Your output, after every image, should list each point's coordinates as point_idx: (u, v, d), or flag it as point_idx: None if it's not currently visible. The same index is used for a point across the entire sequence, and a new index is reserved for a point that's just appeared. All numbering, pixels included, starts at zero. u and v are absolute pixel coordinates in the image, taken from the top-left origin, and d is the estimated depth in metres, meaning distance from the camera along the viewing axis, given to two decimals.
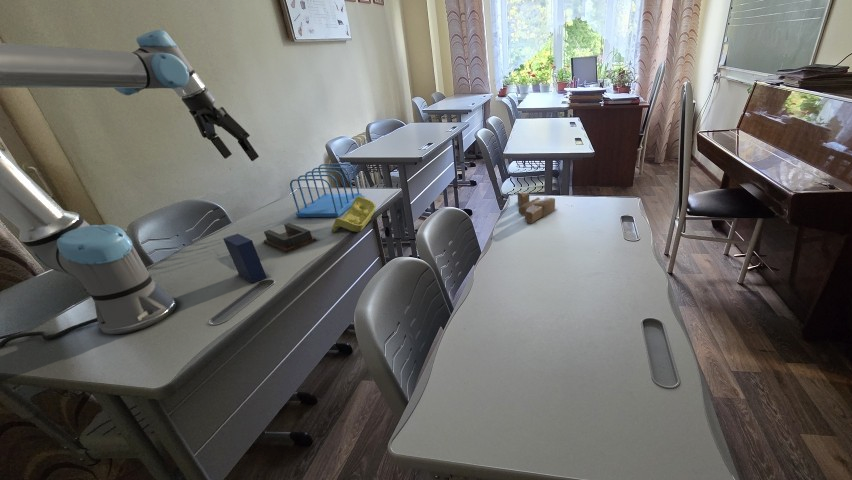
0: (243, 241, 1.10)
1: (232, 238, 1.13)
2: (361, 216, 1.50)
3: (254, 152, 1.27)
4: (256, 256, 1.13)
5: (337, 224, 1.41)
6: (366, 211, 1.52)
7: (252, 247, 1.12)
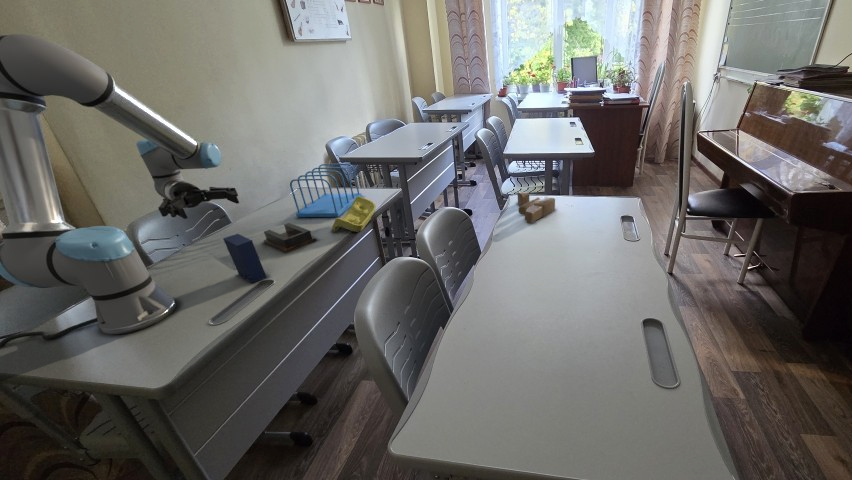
0: (243, 241, 1.10)
1: (232, 238, 1.13)
2: (361, 216, 1.50)
3: None
4: (256, 256, 1.13)
5: (337, 224, 1.41)
6: (366, 211, 1.52)
7: (252, 247, 1.12)
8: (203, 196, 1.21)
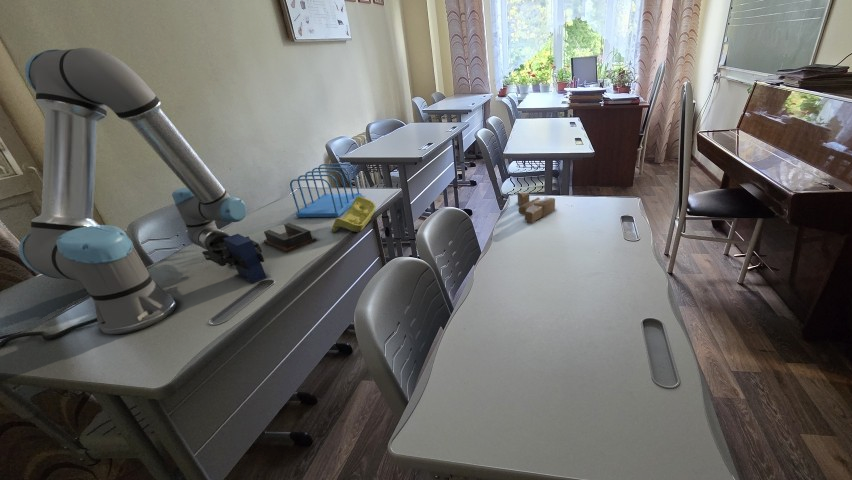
0: (243, 241, 1.10)
1: (232, 238, 1.13)
2: (361, 216, 1.50)
3: None
4: (256, 256, 1.13)
5: (337, 224, 1.41)
6: (366, 211, 1.52)
7: (252, 247, 1.12)
8: None
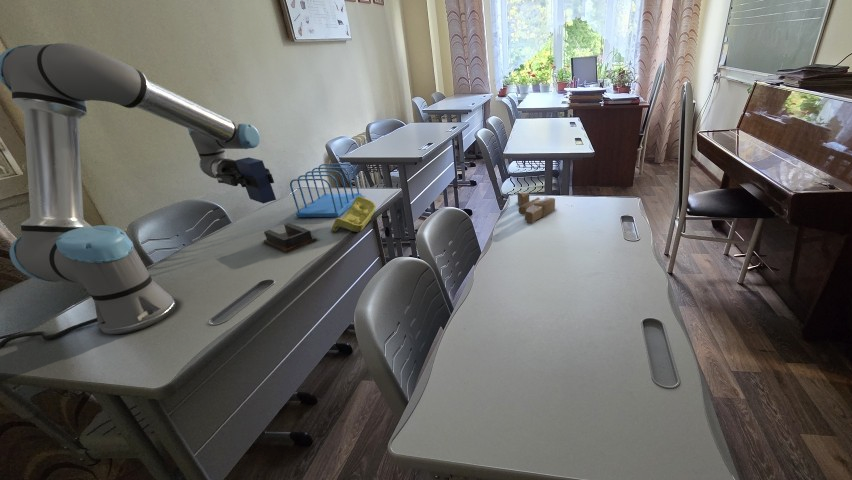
0: (254, 161, 1.17)
1: (244, 160, 1.19)
2: (361, 216, 1.50)
3: None
4: (266, 177, 1.19)
5: (337, 224, 1.41)
6: (366, 211, 1.52)
7: (263, 167, 1.18)
8: None
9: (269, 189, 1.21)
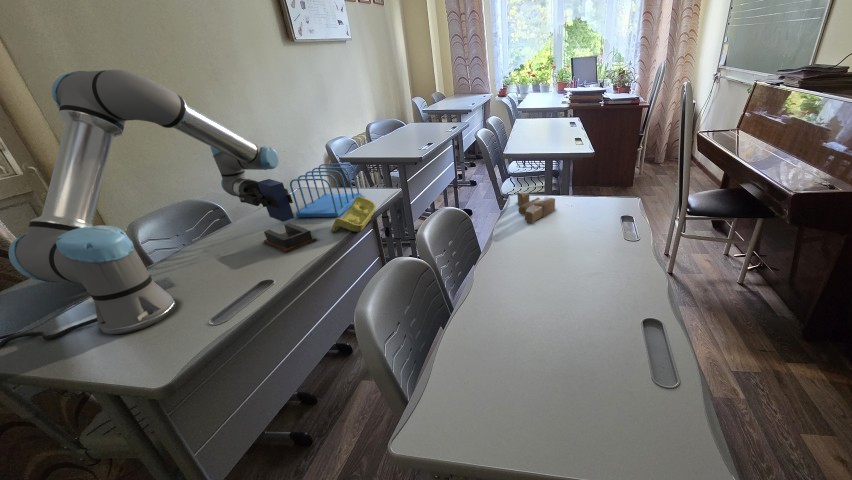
0: (275, 183, 1.27)
1: (265, 181, 1.29)
2: (361, 216, 1.50)
3: None
4: (286, 197, 1.29)
5: (337, 224, 1.41)
6: (366, 211, 1.52)
7: (283, 189, 1.28)
8: None
9: (288, 208, 1.31)
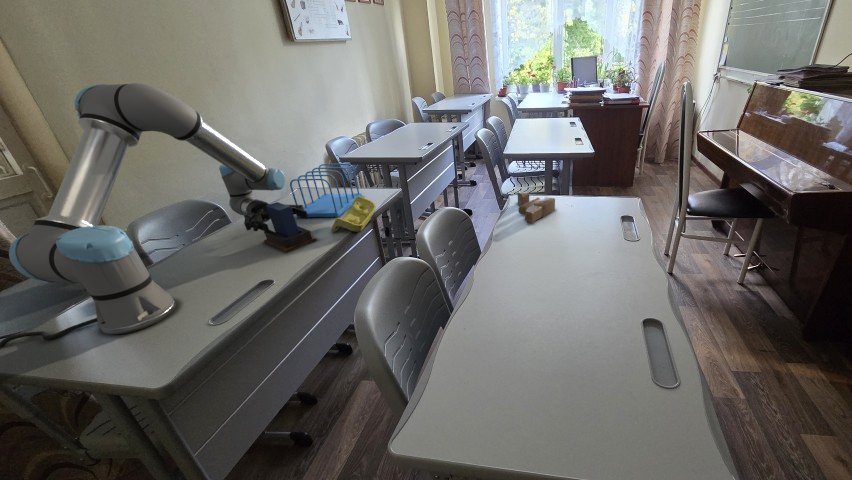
0: (283, 207, 1.31)
1: (273, 205, 1.33)
2: (361, 216, 1.50)
3: None
4: (294, 220, 1.34)
5: (337, 224, 1.41)
6: (366, 211, 1.52)
7: (291, 212, 1.32)
8: None
9: (296, 231, 1.35)
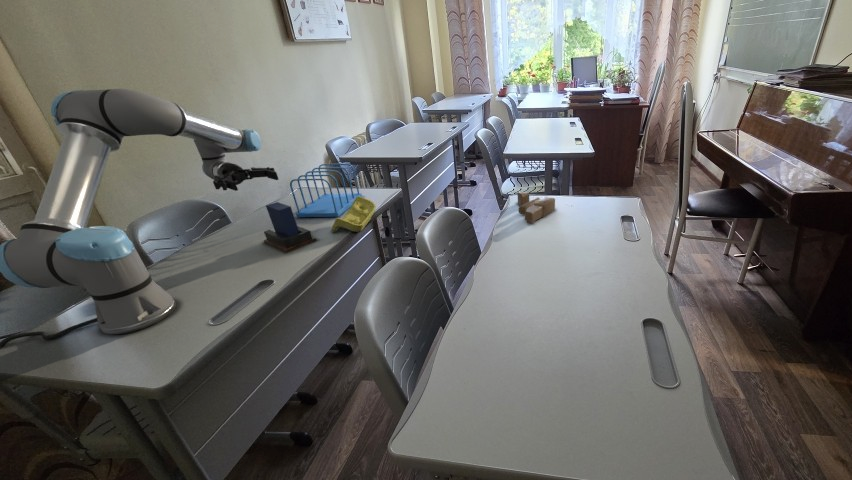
0: (283, 207, 1.31)
1: (273, 205, 1.33)
2: (361, 216, 1.50)
3: None
4: (294, 220, 1.34)
5: (337, 224, 1.41)
6: (366, 211, 1.52)
7: (291, 212, 1.32)
8: (247, 174, 1.43)
9: (296, 231, 1.35)
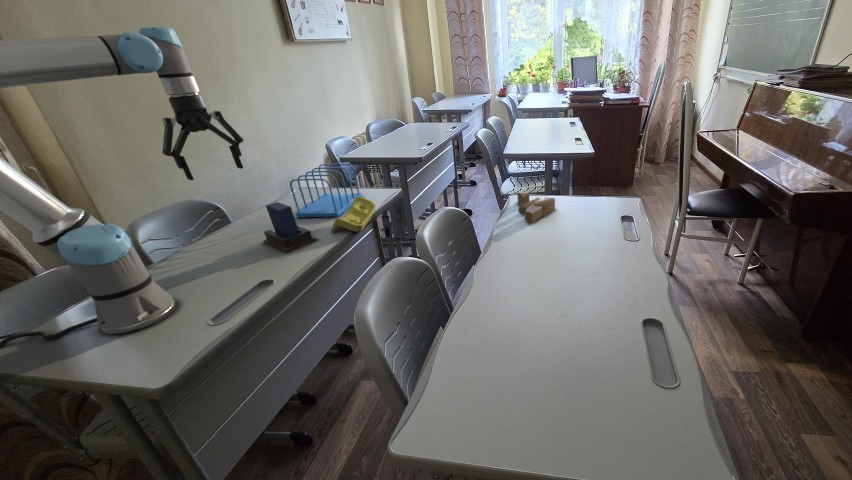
0: (283, 207, 1.31)
1: (273, 205, 1.33)
2: (361, 216, 1.50)
3: None
4: (294, 220, 1.34)
5: (337, 224, 1.41)
6: (366, 211, 1.52)
7: (291, 212, 1.32)
8: None
9: (296, 231, 1.35)
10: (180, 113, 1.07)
